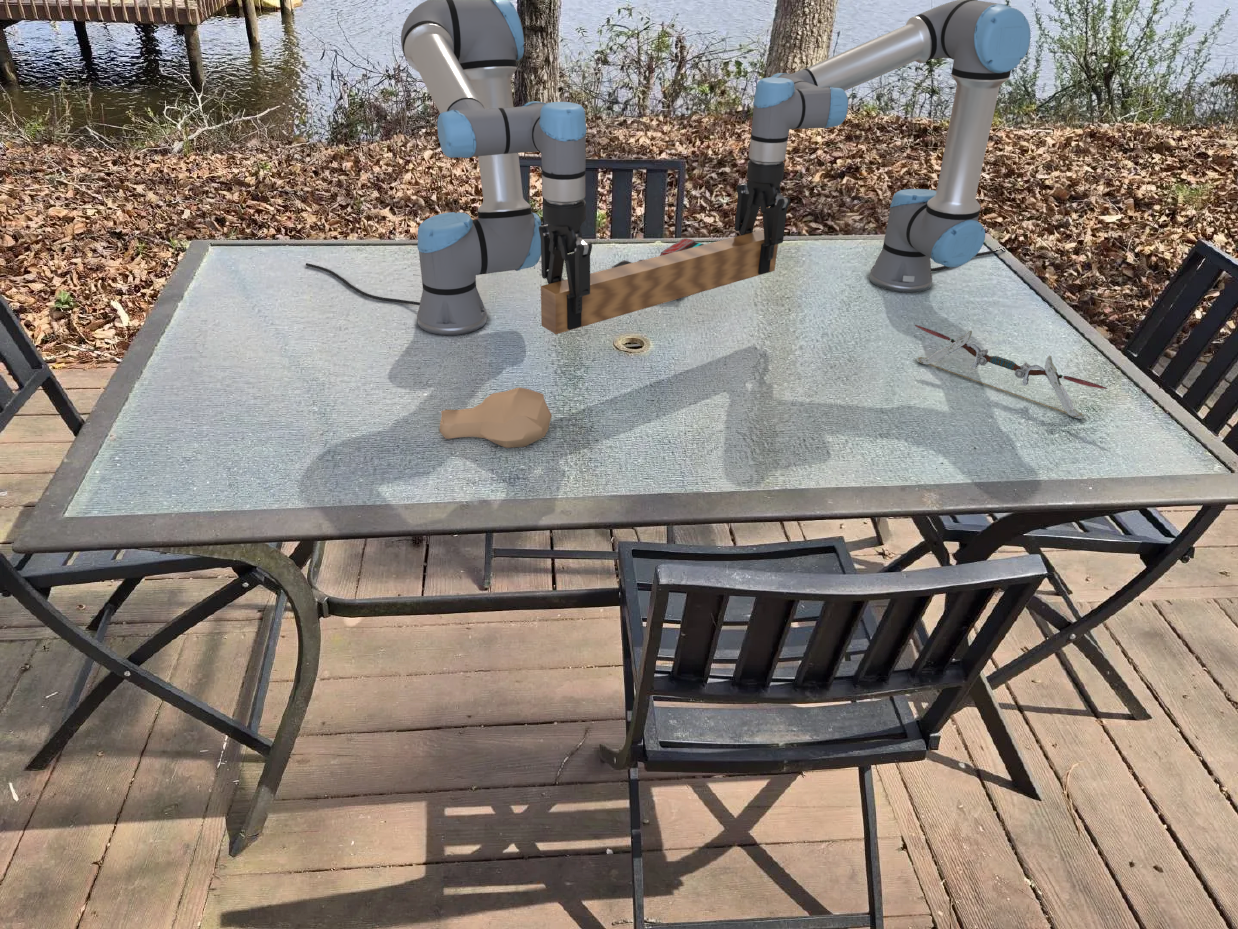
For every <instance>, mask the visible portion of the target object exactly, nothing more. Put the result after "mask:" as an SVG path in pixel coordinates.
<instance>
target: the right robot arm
mask: <svg viewBox="0 0 1238 929" xmlns="http://www.w3.org/2000/svg"><path fill="white" fill-rule="evenodd" d="M905 23H906V24H905V25H903V26H901V27H899V28H896V29H893V30H892V31H889V32H887V33H885V34H882V35H880V36H878V37H875V38H873V39H871V40H868V41H866V42H863V43H861V44H859V45H856V46H854V47H851V48H850V49H847V50H845V51H843V52H841V53H838V54H836V55H833V56H831V57H828V58H826V59H824V60H822V61H819V62H816V63H815V64H812V65H810V66H807V67H805V68H803V69H800V70H798V71H794V72H793V73H787V72H777V73H775V74H773V75H772V76H770V77H763V78H761V79H759V81H758V82H756V86H755V92H754V98H753V102H752V104H753V109H752V110H753V111H752V121H751V133H750V140H749V150H748V158H749V160H748V161H747V170H746V178H747V180H748V181H747V182H745V183H741V184H740V183H739V184H737V185H736V193H737V199H736V200H737V202H736V211H735V221H734V230H735V231H736V232H738V233H739V235H740V236H741V235H745V234H749V233H753V232H755V231H754V227H755V224H756V221H757V218H758V214H759V211H760V213H761V214H762V224H763V225H762V226H763V230H764V242H765V243H763V244H761V252H760V260H759V269H758V274H760V275H759V276H762V275H765V274H769V273H770V272H769V270H770V262H771V259H772V258H773V254H774V246H775V245H777V244H778V245H780V244H782V243H784V238H785V229H786V221H787V212H788V208H789V206H790V204H791V198H790V197H789V196H788V197H787V196H786V197H785V196H784V195H783V194H782V190H781V183H782V182H783V180H784V174H785V168H786V164H785V162H784V161H786V158H787V148H788V141H789V134H790V130H804V129H805V130H806V129H808V130H809V129H828V128H829V129H830V128H834V127H839V126H841V125H842V124H843V123H844V121H845V120H846V118H847V115H848V110H849V100H848V99H849V98H848V95H847V93H846V91H849V90H850V89H853V88H855V87H858V86H860V85H862V84H865V83H867V82H869V81H873V79H876V78H879V77H881V76H882V75H886V74H888V73H890V72H893V71H895V70H898V69H901V68H902V67H904V66H907V65H910V64H912V63H914V62H916V63H918V64H924V63H927V62H929V61H931V60H935V59H950V60H953V62H952V67H951V68H952V69H951V74H950V76H951V77H952V78H953V81H955V83H956V86H955V93H954V98H953V101H952V102H953V103H952V108H951V114H950V119H949V124H948V128H947V135H946V139H945V144H944V150H943V155H942V159H941V165H940V171H939V176H938V181H937V187H936V190H934V189H928V188H927V189H926V188H906V189H901V190H897V191H896V192H895V193H894V194H893V196H892V198H891V203H890V205H889V212H888V218H887V223H886V228H885V234H884V239H883V244H882V249H881V251H880V253H879V254H878V256H877V258H876V261H875V262H874V265H872V267H871V269H870V272H869V276H868V277H869V281H870V282H871V283H872V284H873V285H874V286H877V287H878V288H881V289H883V290H887V291H889V292H890V291H891V292H896V293H904V294H905V293H906V294H915V293H921V292H925V291H928V290H929V289H930V288H931V287H932V284H933V283H932V282H933V273H932V272H938V271H943V270H947V269H950V268H958V267H961V266H963V265H966V264H967V263H969V262H970V261H971V260H972V259H973V258H976V257H982V256H988V255H993V254H995V253H997V252H998V251H1002V252H1003V253H1005V252H1006V249H1005V247H1003V249H1004V250H1005V251H1003V250H1002V249H1000V250H996V251H992V250H989V251H983V252H980V250H981V249H982V247H983V245H984V243H985V240H986V229H985V228H984V226H983V224H982V222H980V221H979V217H980V212H981V209H982V208H981V204H980V203H979V201H978V200H977V199H976V197H977V194H978V188H979V184H980V179H981V175H982V169H983V165H984V161H985V156H986V151H987V147H988V142H989V139H990V134H991V128H992V124H993V120H994V114H995V111H996V110H995V109H996V105H997V101H998V96H999V92H1000V88H1001V86H1002V85H1003V84H1004V83H1005V82H1007V81H1008V80H1010V77H1011V73H1012V70H1014V69H1015V68H1017V66H1019V65H1020V64H1021V60H1023V59H1024V58H1025V56H1026V55H1027V53H1028V50H1029V48H1030V44H1031V34H1032V33H1031V27H1030V23H1029V20H1028V19H1027V17H1026V16H1025V14H1024V13H1023V12H1022V11H1021V10H1019V9H1017V8H1015V7H1012V6H1010V5H1007V4H1005V3H1004V4H1003V3H996V2H989V1H983V0H952V1H949V2H947V3H944V4H941V5H938V6H935V7H933V8H931V9H928V10H926V11H923V12H921V13H917V14H916V15H914V16H911V17H909V18H908V20H907V21H906V22H905ZM770 238H771V239H770ZM998 247H999V248H1000V247H1001V246H998ZM931 260H932V262H934V263H936V264H939V265H941V266H938V267H932V263H931ZM764 273H765V274H764ZM761 274H762V275H761Z"/></svg>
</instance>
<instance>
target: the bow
mask: <svg viewBox="0 0 1238 929" xmlns="http://www.w3.org/2000/svg"><path fill="white" fill-rule="evenodd" d="M914 326H915V327H916V328H918V329H920V330H921V331H924V333H925V332H926V333H928V334H930V335H932V336H935V337H937V338H940V339H943V340H946V341H949V342H950V343H951V345H949V346H945V347H943V348H941V349H939V350H937V351H935V352H934V353H933V354H931V355H930V356H927V357H923V356H918V357H917V358H916V361H917V362H918V363H920V364H922V365H929V366H931V367H934V368H937V369H940V370H943V371H946V372H949V373H952V374H954V375H957V376H960V377H963V378H966V379H969V380H971V381H973V382H976V383H979V384H983V385H985V386H988V387H991V388H993V389H997V390H999V391H1003V392H1005V393H1009V394H1010V395H1014V396H1016V397H1019V398H1022V399H1025V400H1027V401H1030V402H1033V403H1037V404H1040V405H1042V406H1045V407H1048V408H1050V409H1054V410H1056V411H1059V412H1062V413H1063V414H1064V413H1065V414H1067V415H1069V416H1070V417H1072V418H1075V419H1079V420H1082V419H1083V418H1085V416H1086V415H1085V414H1083V413H1082V412H1080V411H1079V410H1078V409H1076V408H1075V407H1074V405H1073V402H1072V399H1071V396H1070V395H1069V393H1068V391H1067V390H1066V388H1065V386H1064V385H1062V382H1061V380H1060V379H1062V378H1063V379H1064V380H1066V381H1069V382H1072V383H1076V384H1078V385H1082V386H1087V387H1090V388H1096V389H1103V390H1107V389H1108V387H1106V386H1103V385H1101V384H1097V383H1095V382H1091V381H1089V380H1084V379H1081V378H1078V377H1073V376H1070V375H1069V376H1068V375H1062V374H1059V372H1058V369H1057V367H1056V366H1055V364H1054V362H1053V358H1052V355H1048V356H1047V357H1046V359H1045V363H1044V367H1043V366H1040V365H1039V364H1033V365H1030V363H1028V362H1027V361H1025V362H1024V363H1023V364H1021V365H1018V364H1017V363H1016V362H1014V360H1010V359H1007V358H1004V357H1001V356H998V355H989V349H987V348H986V349H981V348H980V347H979V346H978V345H976V343H975V344H974V343H968V342H969V341H970V340H971V337H972V333H973V330H969V331H967V332H966V333H965V334H964V335H962V336H960V337H958V338H957V339H954V338H951V337H949V336H947V335H945V334H943V333H941V332H938V331H935V330H933V329H929V328H928V327H924V326H922V325H917V324H914ZM963 349H964V350H965V351H967V352H968V353H969V354H970V355H972V356H973V357H974V358H975V359H974V361H973V362H972V365H971V368H972V369H976V368H978V365H980V366H983V367H985V365H987V364H988V363H990V364H992V365H995V366H998V367H1002V368H1005V369H1007V370H1010V371H1014V376H1015V377H1016V378H1018V379H1022V381H1021V382H1022V383H1021V386H1024V387H1027V386H1028V385H1029V381H1030V378H1029V377H1030V376H1045V378H1047V380H1048V382H1049V383H1050V386H1051V387H1052V388H1053V390H1054V392H1055V395H1056V397H1057V398H1058V400H1059V403H1060V405H1061V407H1062V408H1063V410H1062V409H1059V408H1056V407H1053V406H1050V405H1047V404H1044V403H1042V402H1040V401H1036V400H1033V399H1030V398H1027V397H1025V396H1022V395H1019V394H1016V393H1013V392H1011V391H1007V390H1005V389H1002V388H999V387H996V386H994V385H991V384H988V383H985V382H982V381H979V380H976V379H974V378H971V377H969V376H966V375H962V374H959V373H957V372H953V371H951V370H948V369H945V368H942V367H940V366H937V365H934V364H933V363H936V362H939V361H941V360H943V359H944V358H946V357H948V356H949V355H951V354H953V353H955V352H958V351H960V350H963Z"/></svg>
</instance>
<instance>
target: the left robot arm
mask: <svg viewBox="0 0 1238 929" xmlns="http://www.w3.org/2000/svg"><path fill="white" fill-rule="evenodd" d="M400 35H401V36H400V46H401V50H402V53H403V55H404V57H405V59H406V61H407V64H408V65H409V66H410V68H412V69H413V70H414V71H415V72H418V73H419V76H420V77H421V79H422V81H423V83H424V85H425V87H426V89H427V91H428V93H429V95H430V97H431V99H432V101H433V102H434V105H435V107H436V109H437V110H438V112H439V115H438V117H437V122H436V126H437V136H438V137H437V138H438V142H439V144H440V150H441V151H442V153H443V154H444V156H445V157H447V158H451V159H452V158H454V159H455V158H456V159H457V158H463V159H470V158H475V157H477V159H478V167H479V177H480V185H481V192H482V199H483V200H482V203H481V205H480V206H479V207H478V209H477V217H478V218H477V219H473V218H472V217H471V216H470V215H469V214H468V213H465V212H462V211H461V212H460V211H458V212H455V211H452V212H451V211H449V212H443V213H439V214H436V215H432V216H430V217H429V218H427V219H425V220H423V221H422V222H421V223H420V224H419V226H418V227H417V247H416V248H417V250H418V257H419V264H420V266H419V267H420V275H421V276H420V277H421V284H422V292H421V297H420V301H413V300H405V299H399V298H391V297H383V296H378V295H373V294H370V293H367V292H365V291H362V290H361V289H360V288H358V287H356V286H354V285H352V284H351V283H350V282H348V281H347V280H346V279H345V278H343V277H342V276H341V275H339V274H337V273H336V272H334V271H332V269H328V268H326V267H323V266H320V265H316V264H312V263H308V262H306V263H305V266H306V267H309V268H313V269H317V270H319V271H324V272H326V273H328V274H330V275H332V276H333V277H335V278H337V279H338V280H339V281H341V282H343V283H344V284H345V285H346V286H348V287H349V288H350V289H352V290H353V291H355V292H357V293H359V294H360V295H362V296H365V297H367V298H370V299H374V300H378V301H383V302H390V303H398V304H400V303H401V304H407V305H412V306H413V305H414V306H418V310H417V315H416V318H417V325H418V326H419V328H420V329H421V330H423V331H424V332H427V333H430V334H433V335H440V336H459V335H465V334H469V333H473V332H476V331H477V330H480V329H481V328H483V327H484V326H485V325H486V323H487V320H488V316H487V310H486V306H485V304H484V302H483V299H482V298H481V295H480V293H479V291H478V288H477V278H476V277H477V276H480V275H488V274H496V273H504V272H510V271H516V272H518V271H519V272H520V271H521V270H525V269H531V268H533V267H535V266H536V265H537V264H538V263H539V261H540V262H541V264H540V265H541V266H540V268H541V278H542V279H546V282H547V284H551V283H555V282H559V281H563V280H565V279H564V277H563V272H564V266H565V271H566V280H567V279H568V285H569V292H570V294H568V295H567V329H569V330H570V331H572V330H571V329H573V330H576V329H579V328H578V327H580V328H582V327H581V312H582V296H585V295H589V294H590V273H591V253H592V250H593V243H592V242H591V241H588V242H586V241H585V240H584V239H583V234H582V229H581V228H582V227H581V226H582V225H583V223H585V221H586V219H587V203H586V200H585V198H586V171H587V170H586V165H587V164H586V162H587V160H586V159H587V157H586V156H587V155H586V154H587V153H586V151H587V150H586V148H587V137H586V136H587V131H588V130H587V123H586V122H587V121H586V111H585V108H584V107H583V106H582V105H581V104H579V103H577V102H570V101H551V102H544V101H543V102H542V101H535V100H533V101H528V102H526V103H525V104H523V105H522V106H514V99H513V98H514V97H513V90H512V80H511V79H512V76H513V75H514V74H515V72H516V71H517V69H518V67H517V62H518V61H519V60H521V59H522V58H523V56H524V53H525V52H524V51H525V47H524V46H525V37H524V30H523V26H522V21H521V19H520V16H519V13H518V11H517V8H516V7H515V5H514V4H513V2H511V0H425V1H423V2H421V3H419V4H418V5H417V6H416V7H414V8H413V9H412V11H411V12H410V13H409V14H408V16H406V19H405V21H404V23H403V25H402V28H401V34H400ZM534 152H535V153H536V152H537V153H540V156H541V193H542V194H541V195H542V198H543V201H542V219H543V221H544V222H545V224H543V225H542V220H541V218H540V216H539V215H538V214H537V213H535V212H532V206H531V204H530V203H529V202H527V200H525V198H524V193H523V184H522V175H521V167H520V158H519V157H520V156H519V154H523V153H534ZM575 328H576V329H575Z"/></svg>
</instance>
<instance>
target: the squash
mask: <svg viewBox="0 0 1238 929" xmlns="http://www.w3.org/2000/svg"><path fill="white" fill-rule="evenodd" d="M440 414H441V417H440V422H439V430H438V431H439V433H440V434H441V435H442V436H443V437H444V438H445V440H447V439H449V440H451V439H457V438H469V437H471V438H473V437H474V438H480V439H486V440H488V441H490V442H492V443H494V444H496V445H498V446H501V447H503V448H504V449H505V448H506V449H511V448H525V447H527V446H529V445H532V444H533V443H536V442H537V441H539V440H541V439H543V438H545V437H546V435H547V433H548V431H549V428H550V424H551V420H552V417H553V416H552V413H551V411H550V408H549V407H548V404H547V403H546V401H545V395H544V393H541V392H539V391H535V390H532V389H530V388H525V387H515V388H512V389H509V390H506V391H498V392H493V393H491V394H490V395H488V396H487V397H485V398H484V399H483V401H482V402H481V403H479V404H478V405H477V404H476V406H474V407H471V408H470V407H469V408H463V409H447V408H446V409H444V410H441V411H440Z"/></svg>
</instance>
